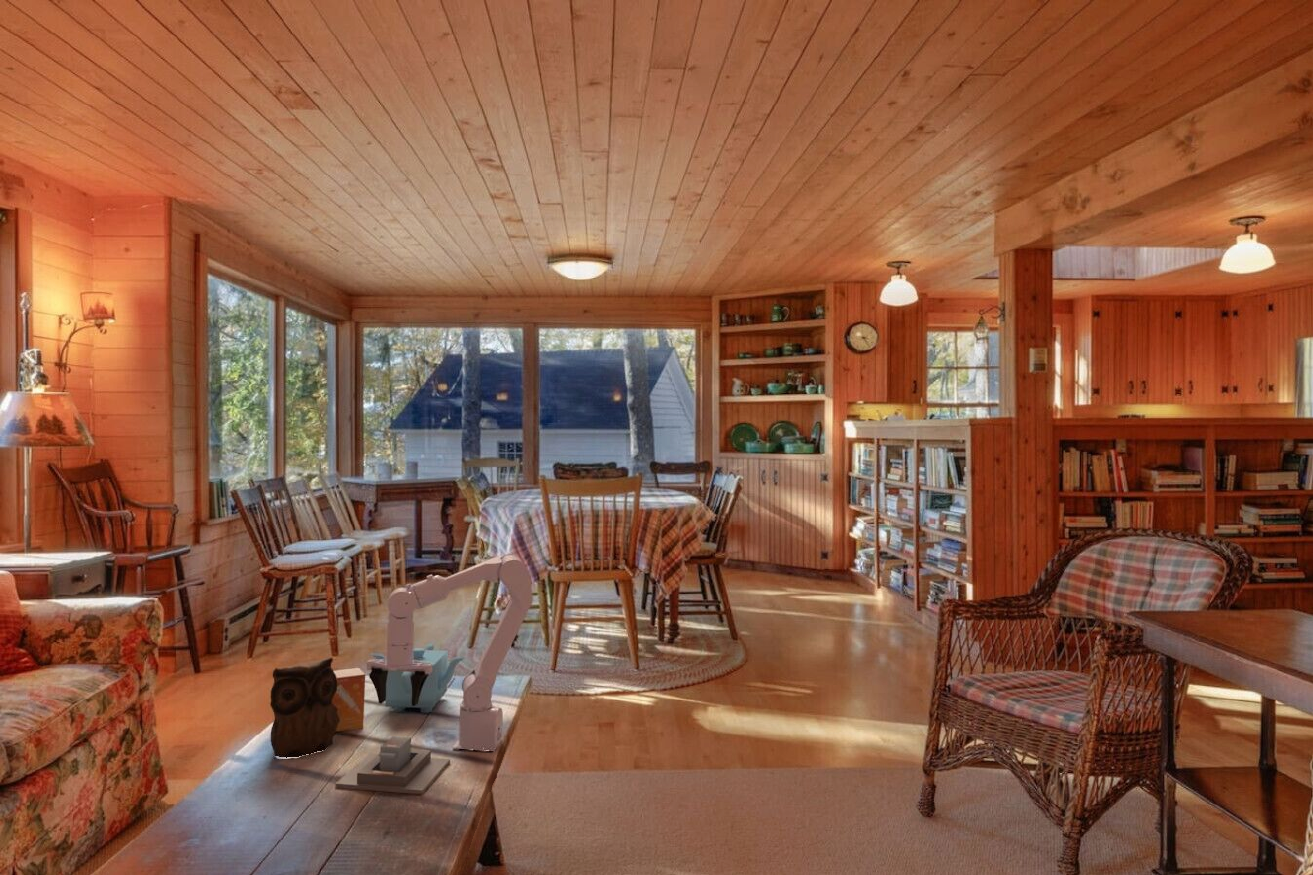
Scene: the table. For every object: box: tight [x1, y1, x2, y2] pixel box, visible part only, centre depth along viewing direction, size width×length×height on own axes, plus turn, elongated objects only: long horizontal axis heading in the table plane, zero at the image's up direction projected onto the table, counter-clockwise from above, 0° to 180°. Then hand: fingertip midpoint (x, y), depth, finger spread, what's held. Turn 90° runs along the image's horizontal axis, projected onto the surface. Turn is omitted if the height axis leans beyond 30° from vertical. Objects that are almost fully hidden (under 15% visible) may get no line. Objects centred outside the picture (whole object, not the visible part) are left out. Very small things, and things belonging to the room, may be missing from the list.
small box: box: [332, 667, 366, 733], centre depth 203 cm, size 8×6×13 cm
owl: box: [269, 657, 340, 758], centre depth 187 cm, size 13×13×20 cm
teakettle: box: [370, 642, 467, 714], centre depth 220 cm, size 19×19×15 cm
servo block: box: [378, 735, 412, 772], centre depth 177 cm, size 4×9×6 cm, turn 174°
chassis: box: [335, 748, 451, 795], centre depth 177 cm, size 18×16×3 cm
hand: (398, 703), depth 190 cm, fingers open, 7 cm apart
